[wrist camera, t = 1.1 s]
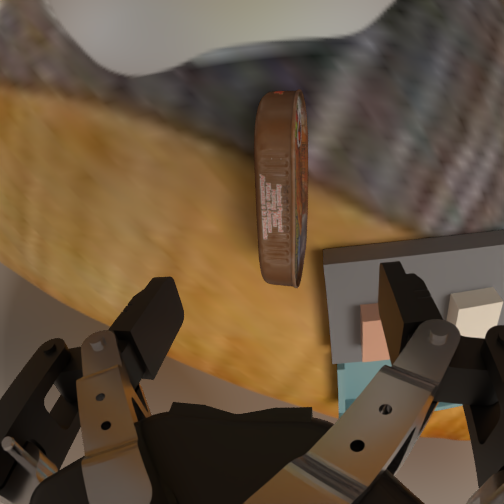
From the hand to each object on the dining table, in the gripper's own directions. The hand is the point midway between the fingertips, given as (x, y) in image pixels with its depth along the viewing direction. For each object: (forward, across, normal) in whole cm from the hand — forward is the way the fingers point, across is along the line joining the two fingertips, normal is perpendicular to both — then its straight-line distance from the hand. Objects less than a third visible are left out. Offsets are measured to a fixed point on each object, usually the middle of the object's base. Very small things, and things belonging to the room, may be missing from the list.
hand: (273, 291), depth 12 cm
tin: (+17, 0, 0) cm, 17 cm away
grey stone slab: (+17, -12, +12) cm, 24 cm away
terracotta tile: (+14, -8, +14) cm, 21 cm away
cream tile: (+14, -17, +13) cm, 25 cm away
